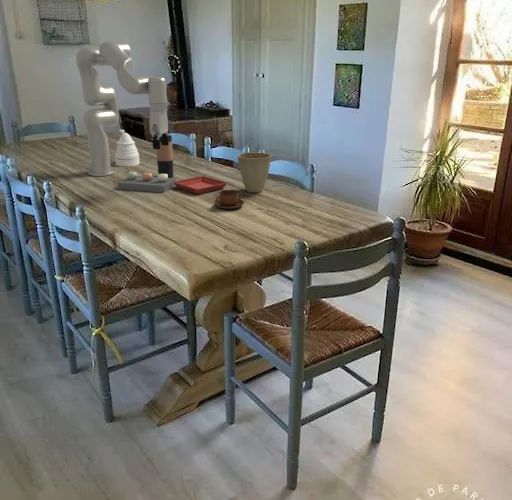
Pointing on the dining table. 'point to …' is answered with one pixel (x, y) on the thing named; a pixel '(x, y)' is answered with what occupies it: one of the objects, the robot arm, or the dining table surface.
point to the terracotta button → (147, 176)
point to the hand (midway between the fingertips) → (161, 147)
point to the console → (147, 184)
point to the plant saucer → (200, 184)
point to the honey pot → (126, 151)
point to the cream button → (162, 177)
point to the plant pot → (254, 170)
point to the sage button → (131, 175)
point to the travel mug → (165, 158)
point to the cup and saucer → (228, 200)
